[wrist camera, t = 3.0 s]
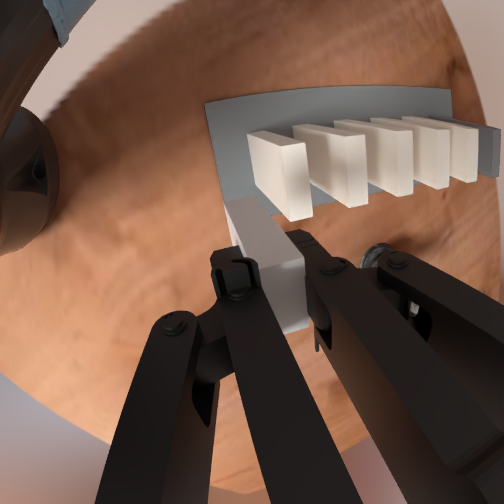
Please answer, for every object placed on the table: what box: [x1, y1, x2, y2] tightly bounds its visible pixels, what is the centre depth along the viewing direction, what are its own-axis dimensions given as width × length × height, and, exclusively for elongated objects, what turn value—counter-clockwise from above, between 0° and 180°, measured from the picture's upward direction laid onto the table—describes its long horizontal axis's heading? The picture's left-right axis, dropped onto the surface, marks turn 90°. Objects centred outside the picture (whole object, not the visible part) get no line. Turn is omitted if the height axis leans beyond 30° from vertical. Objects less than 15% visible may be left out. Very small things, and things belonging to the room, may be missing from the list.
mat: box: [204, 86, 453, 216], centre depth 29 cm, size 30×12×1 cm, turn 99°
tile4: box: [370, 117, 450, 189], centre depth 25 cm, size 2×5×10 cm, turn 9°
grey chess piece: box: [360, 243, 419, 314], centre depth 32 cm, size 6×6×12 cm
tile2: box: [292, 124, 368, 208], centre depth 24 cm, size 2×5×10 cm, turn 9°
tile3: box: [334, 119, 413, 197], centre depth 24 cm, size 2×5×10 cm, turn 9°
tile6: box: [428, 116, 501, 178], centre depth 26 cm, size 2×5×10 cm, turn 9°
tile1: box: [247, 131, 313, 222], centre depth 23 cm, size 2×5×10 cm, turn 9°
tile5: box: [402, 116, 478, 183], centre depth 25 cm, size 2×5×10 cm, turn 9°
